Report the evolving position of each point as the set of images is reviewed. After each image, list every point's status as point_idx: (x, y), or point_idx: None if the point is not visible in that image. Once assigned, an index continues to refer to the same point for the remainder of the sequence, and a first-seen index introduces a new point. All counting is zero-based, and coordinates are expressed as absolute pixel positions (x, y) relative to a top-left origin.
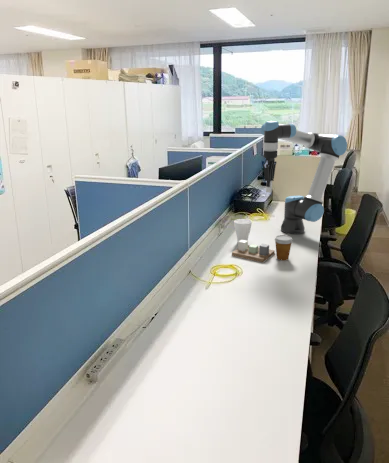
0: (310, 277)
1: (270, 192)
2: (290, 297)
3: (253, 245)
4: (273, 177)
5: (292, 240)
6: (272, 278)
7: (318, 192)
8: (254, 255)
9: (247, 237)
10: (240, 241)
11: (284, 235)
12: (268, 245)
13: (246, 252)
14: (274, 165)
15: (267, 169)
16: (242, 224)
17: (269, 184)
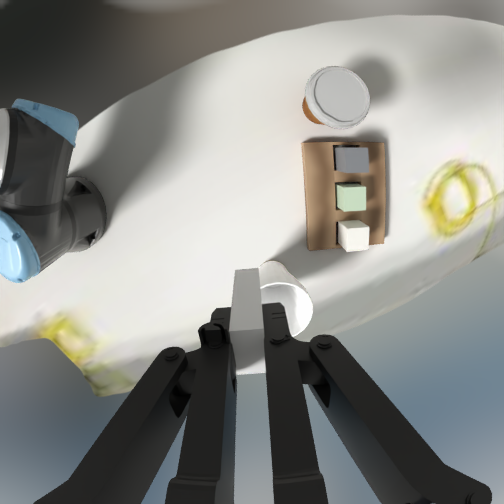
0: (381, 18)
1: (257, 268)
2: (467, 46)
3: (352, 201)
4: (175, 358)
5: (324, 67)
6: (436, 90)
7: None
8: (375, 176)
9: (274, 266)
10: (364, 245)
11: (315, 102)
12: (349, 148)
13: (366, 208)
14: (99, 501)
15: (431, 455)
16: (309, 296)
17: (269, 316)
